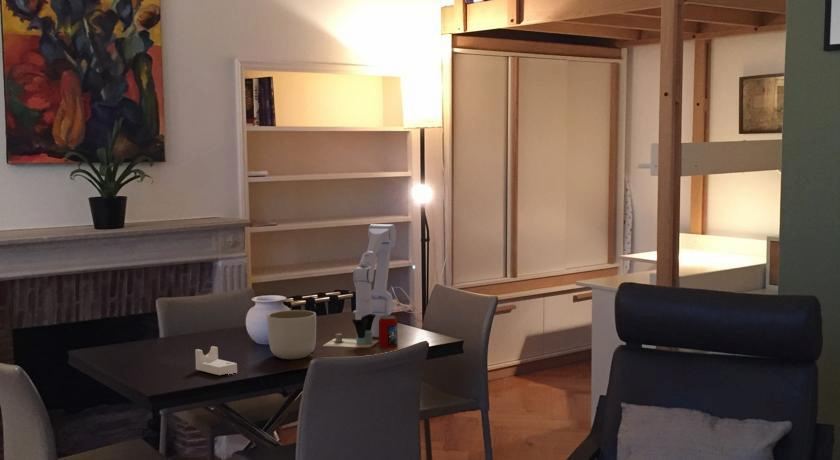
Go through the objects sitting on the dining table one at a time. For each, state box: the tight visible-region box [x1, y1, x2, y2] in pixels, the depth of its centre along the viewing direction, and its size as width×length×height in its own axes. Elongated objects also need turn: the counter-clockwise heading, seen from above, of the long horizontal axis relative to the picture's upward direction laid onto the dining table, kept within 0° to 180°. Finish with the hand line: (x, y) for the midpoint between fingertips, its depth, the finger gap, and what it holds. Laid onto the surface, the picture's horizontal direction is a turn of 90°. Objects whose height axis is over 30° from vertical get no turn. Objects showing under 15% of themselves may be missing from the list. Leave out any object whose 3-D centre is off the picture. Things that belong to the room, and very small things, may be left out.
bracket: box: [194, 345, 238, 376], centre depth 314 cm, size 13×7×8 cm, turn 47°
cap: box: [355, 330, 373, 345], centre depth 352 cm, size 6×6×4 cm
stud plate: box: [322, 333, 379, 349], centre depth 353 cm, size 14×18×4 cm
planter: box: [266, 309, 317, 360], centre depth 336 cm, size 17×17×15 cm
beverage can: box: [378, 314, 399, 349], centre depth 346 cm, size 7×7×12 cm
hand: (364, 335), depth 352 cm, fingers open, 7 cm apart
